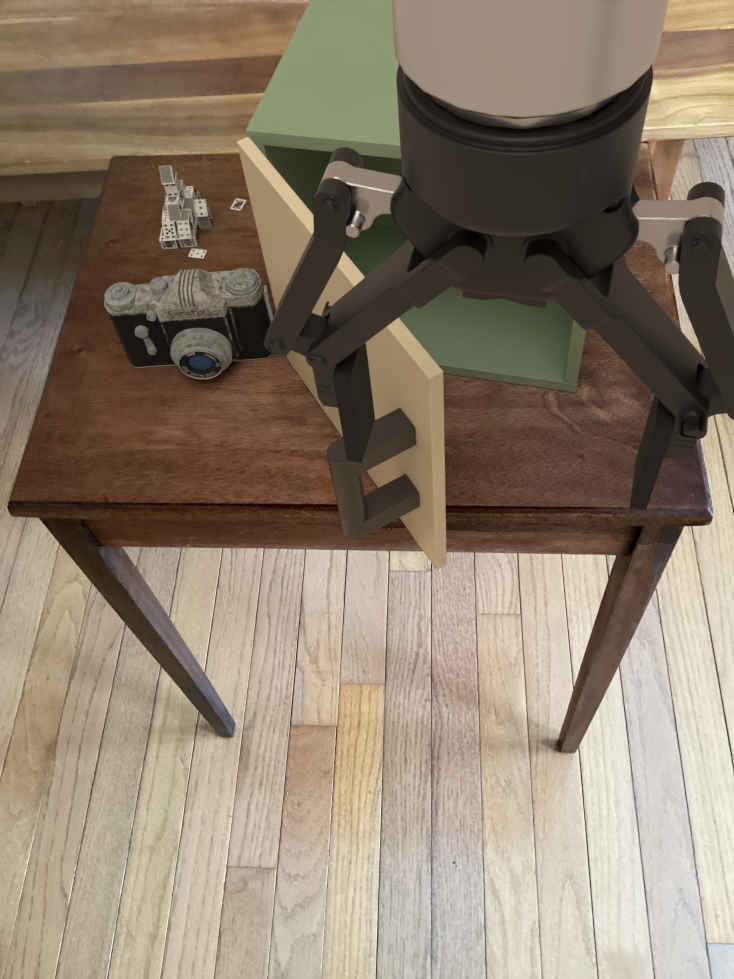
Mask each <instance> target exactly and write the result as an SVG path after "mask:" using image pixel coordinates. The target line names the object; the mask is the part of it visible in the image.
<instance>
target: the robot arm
mask: <svg viewBox="0 0 734 979" xmlns="http://www.w3.org/2000/svg"><path fill="white" fill-rule="evenodd" d="M669 1H670V0H392V21H393V41H394V48H395V55H396V59H397V60H398V62H399V66H398V70H397V78H396V83H397V100H398V117H399V133H400V150H401V167H402V173H401V174H400V176H398V175H393V174H388V173H383V172H378V171H373V170H368V169H364V164H363V159H362V157H361V156H360V154H359V153H358V152H356V151H355V150H354V149H351V148H348V147H340V148H338V149H336V150H335V151H334V152H333V153H332V156H331V158H330V161H329V163H328V165H327V168H326V170H325V173H324V175H323V177H322V180H321V182H320V185H319V187H318V190H317V192H316V194H315V197H314V201H313V221H314V232H313V234H312V236H311V238H310V240H309V242H308V244H307V246H306V248H305V250H304V252H303V254H302V256H301V259H300V261H299V263H298V265H297V267H296V269H295V271H294V273H293V275H292V277H291V279H290V281H289V283H288V285H287V287H286V289H285V292H284V294H283V296H282V298H281V300H280V302H279V305H278V307H277V310H276V309H275V313H274V314H273V316H274V317H273V320H272V322H271V324H270V327H269V329H268V332H267V334H266V337H265V339H264V346H265V348H266V349H267V350H268V351H270V352H271V353H273V354H272V355H277V356H287V354H288V353H289V352H290V351H294V352H296V353H299V354H301V355H303V356H304V357H306V362H307V363H308V365H310V366H311V367H312V369H313V374H314V379H315V384H316V389H317V394H318V399H319V400H320V401H321V403H322V404H323V405H324V406H329V407H335V408H338V411H339V417H340V423H341V428H342V434H343V440H344V445H345V451H346V457H347V461H353V462H359V463H362V461H363V458H364V454H365V451H366V448H367V445H368V441H369V438H370V435H371V432H372V428H373V425H374V422H375V413H374V405H373V397H372V389H371V381H370V373H369V365H368V356H367V348H366V342H367V341H368V340H370V339H371V338H372V337H374V336H375V335H376V334H378V333H379V332H380V331H381V330H383V329H384V328H385V327H387V326H388V325H389V324H391V323H392V322H393V321H395V320H396V319H397V318H399V317H400V316H401V315H403V314H404V313H405V312H407V311H408V310H409V309H411V308H412V307H413V306H415V307H417V308H422V307H423V306H425V305H426V304H427V303H429V302H430V301H431V300H433V299H434V298H435V297H437V296H438V295H439V294H441V293H442V292H444V291H445V290H446V289H448V288H449V287H450V286H452V287H454V288H456V289H458V290H460V291H463V298H470V299H478V300H492V299H507V300H510V301H513V302H516V303H519V304H522V305H525V306H533V307H541V308H546V305H547V302H553V301H557V302H558V303H559V304H560V305H561V306H562V307H563V308H564V309H565V311H566V312H567V313H568V314H569V315H570V316H571V317H572V318H573V319H574V320H575V321H576V322H577V323H578V324H579V326H580V327H581V328H583V329H584V330H586V331H590V330H592V329H593V330H594V331H595V332H596V333H597V334H598V335H599V336H600V337H601V338H602V340H603V341H604V342H606V344H608V346H609V347H610V348H611V350H613V351H614V352H615V354H616V355H617V356H618V357H619V358H620V359H621V360H622V361H623V362H624V363H625V365H626V366H627V367H628V368H629V369H630V370H631V371H632V372H633V373H634V374H635V376H637V377H638V379H639V380H640V381H641V382H642V383H643V384H644V385H645V386H646V387H647V388H648V390H650V391H651V392H652V394H653V399H652V403H651V406H650V408H649V412H648V416H647V419H646V423H645V425H644V430H643V433H642V436H641V440H640V443H639V447H638V450H637V454H636V457H635V462H634V469H633V476H632V485H631V493H630V500H629V509H634V510H641V511H644V512H645V511H647V510H648V506H649V504H650V500H651V497H652V494H653V491H654V488H655V485H656V482H657V479H658V477H659V473H660V471H661V467H662V466H663V463H664V462H663V461H664V459H667V460H674V461H680V462H685V461H686V460H688V459H689V458H690V457H691V456H692V454H693V453H694V452H693V451H694V449H695V446H696V444H697V442H698V441H700V440H701V439H703V438H705V437H706V436H707V435H708V425H709V424H708V423H709V418H710V417H714V416H716V415H723V414H724V415H725V414H727V416H728V417H729V419H731V420H732V421H734V275H733V271H732V269H731V266H730V263H729V260H728V257H727V255H726V250H725V248H724V245H723V229H724V217H725V216H724V215H725V203H726V191H725V189H724V188H723V187H722V185H721V184H718V183H717V182H714V181H702V182H699V183H697V184H695V185H693V186H692V187H691V188H690V189H689V190H688V193H687V196H686V199H641V197H640V195H639V193H638V191H637V189H636V186H635V180H634V178H635V175H636V174H635V173H636V169H637V163H638V158H639V152H640V148H641V143H642V139H643V133H644V128H645V123H646V117H647V112H648V108H649V103H650V98H651V92H652V87H653V82H654V68H653V63H654V60H655V59H656V58H657V55H658V54H659V52H660V46H661V40H662V36H663V31H664V25H665V20H666V16H667V11H668V5H669ZM382 214H391V217H392V219H393V222H394V223H395V225H396V226H397V228H398V229H399V230H400V231H401V232H402V233H403V235H404V236H405V237H406V238H407V239H408V240H407V241H406V243H405V244H404V245H402V246H401V247H400V248H399V249H398V250H397V251H395V252H394V253H393V254H392V255H391V256H390V257H388V258H387V259H386V260H385V261H384V262H382V263H381V264H380V265H379V266H378V267H377V268H375V269H374V270H373V271H372V272H371V273H370V274H368V275H367V276H366V277H365V278H364V279H362V280H361V281H360V282H359V283H358V284H357V285H355V286H354V287H353V288H352V289H351V290H350V291H348V292H347V293H346V294H345V295H344V296H343V297H341V298H340V299H339V300H338V301H337V302H335V303H334V304H333V305H332V306H329V301H327V302H326V304H325V307H324V309H323V312H322V315H321V316H319V315H317V314H314V313H312V311H313V309H314V307H315V305H316V303H317V301H318V300H319V298H320V296H321V294H322V292H323V290H324V289H325V287H326V285H327V283H328V281H329V279H330V277H331V276H332V274H333V272H334V270H335V268H336V266H337V265H338V263H339V261H340V259H341V256H342V254H343V252H344V249H345V246H346V244H347V241H348V238H349V237H352V238H356V237H358V236H359V235H360V232H361V231H363V230H367V229H369V228H370V227H371V226H372V224H373V221H374V219H375V218H376V217H377V216H379V215H382ZM637 242H641V243H645V244H648V245H649V246H650V247H652V249H653V250H654V252H655V256H656V258H657V260H658V262H660V263H661V264H663V271H664V272H665V273H666V274H669V275H678V278H677V280H678V283H677V284H678V292H679V296H680V299H681V303H682V304H683V307H684V309H685V312H686V314H687V317H688V320H689V322H690V324H691V327H692V330H693V332H694V334H695V337H696V339H697V342H698V344H699V347H700V350H701V352H702V354H701V353H700V351H699V350H698V349H697V347H695V345H693V343H692V342H691V341H690V340H689V339H688V337H687V336H686V335H685V333H683V331H682V330H681V329H680V328H679V327H678V325H677V324H676V323H675V322H674V321H673V319H672V318H671V317H670V316H669V315H668V313H666V311H665V309H663V307H661V305H660V304H659V303H658V301H656V299H655V298H654V297H653V296H652V294H651V293H650V292H649V291H648V290H647V289H646V287H645V286H644V285H643V284H642V283H641V282H640V281H639V279H638V278H637V277H636V276H635V274H634V273H633V272H632V271H631V269H630V268H629V264H628V262H627V257H626V254H627V253H628V252H630V250H631V249H632V248H633V247H634V245H635V244H636V243H637Z"/></svg>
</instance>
